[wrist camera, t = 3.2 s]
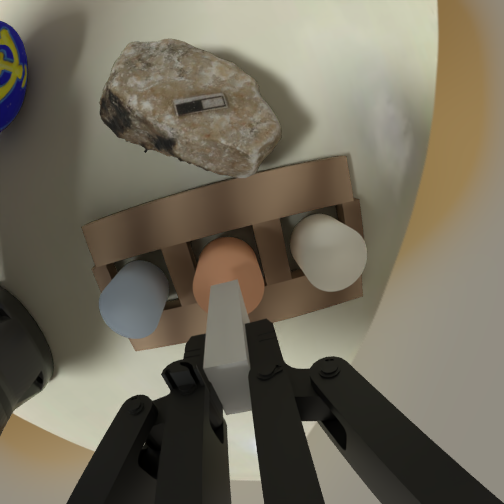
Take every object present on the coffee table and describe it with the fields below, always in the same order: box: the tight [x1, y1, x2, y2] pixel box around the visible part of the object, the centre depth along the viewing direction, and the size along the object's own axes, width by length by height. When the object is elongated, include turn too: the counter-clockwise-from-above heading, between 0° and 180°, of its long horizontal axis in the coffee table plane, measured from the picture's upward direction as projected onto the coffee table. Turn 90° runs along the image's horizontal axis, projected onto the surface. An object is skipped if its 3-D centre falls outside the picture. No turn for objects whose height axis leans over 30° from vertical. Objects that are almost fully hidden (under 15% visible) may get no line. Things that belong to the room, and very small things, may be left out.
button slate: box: [99, 260, 169, 339], centre depth 19 cm, size 4×4×4 cm
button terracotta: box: [193, 237, 264, 314], centre depth 19 cm, size 4×4×4 cm
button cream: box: [290, 214, 367, 292], centre depth 19 cm, size 4×4×4 cm
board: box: [81, 156, 364, 351], centre depth 22 cm, size 22×12×2 cm, turn 103°
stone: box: [99, 39, 282, 178], centre depth 15 cm, size 7×12×7 cm, turn 70°
